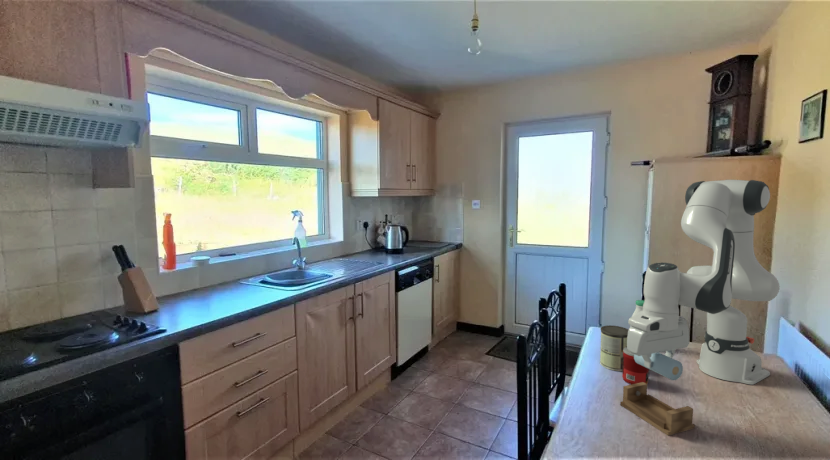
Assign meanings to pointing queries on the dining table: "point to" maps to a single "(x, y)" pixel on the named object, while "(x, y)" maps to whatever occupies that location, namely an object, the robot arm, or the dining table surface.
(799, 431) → the dining table surface
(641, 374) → the canned food
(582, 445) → the dining table surface
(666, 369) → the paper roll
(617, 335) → the coffee can
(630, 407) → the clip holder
